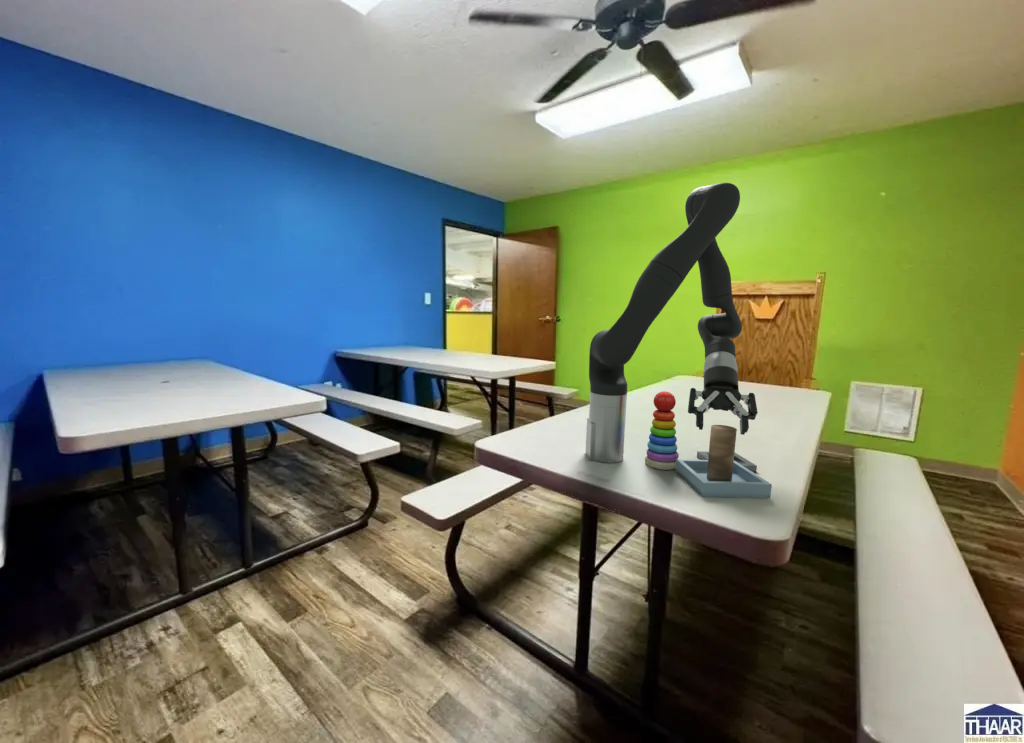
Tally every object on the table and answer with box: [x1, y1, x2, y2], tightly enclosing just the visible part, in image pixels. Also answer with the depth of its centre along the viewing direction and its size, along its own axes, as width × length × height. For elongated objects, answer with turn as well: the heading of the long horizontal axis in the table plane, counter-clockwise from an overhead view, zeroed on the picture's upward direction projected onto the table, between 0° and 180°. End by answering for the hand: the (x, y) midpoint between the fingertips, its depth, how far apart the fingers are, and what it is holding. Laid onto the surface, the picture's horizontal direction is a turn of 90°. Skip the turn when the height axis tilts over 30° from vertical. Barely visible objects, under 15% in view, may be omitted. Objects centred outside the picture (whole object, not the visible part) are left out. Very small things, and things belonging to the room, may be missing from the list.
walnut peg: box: [707, 424, 738, 482], centre depth 90 cm, size 5×5×12 cm
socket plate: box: [696, 451, 758, 473], centre depth 104 cm, size 10×10×2 cm
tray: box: [675, 458, 772, 499], centre depth 91 cm, size 14×14×3 cm
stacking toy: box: [644, 391, 680, 471], centre depth 101 cm, size 8×8×19 cm
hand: (721, 430), depth 92 cm, fingers open, 8 cm apart
